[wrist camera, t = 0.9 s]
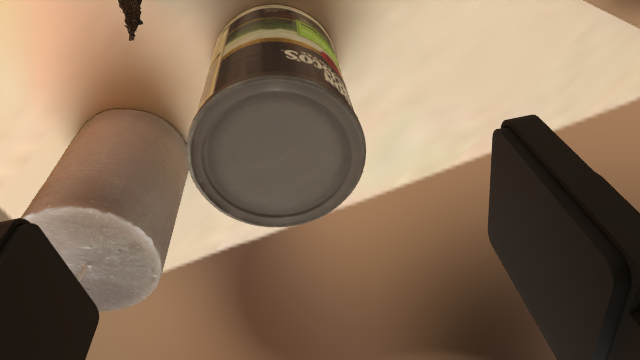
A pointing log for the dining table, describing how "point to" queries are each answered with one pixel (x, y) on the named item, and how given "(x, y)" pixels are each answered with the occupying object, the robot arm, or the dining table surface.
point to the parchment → (131, 15)
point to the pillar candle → (115, 204)
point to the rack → (620, 9)
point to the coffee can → (275, 122)
